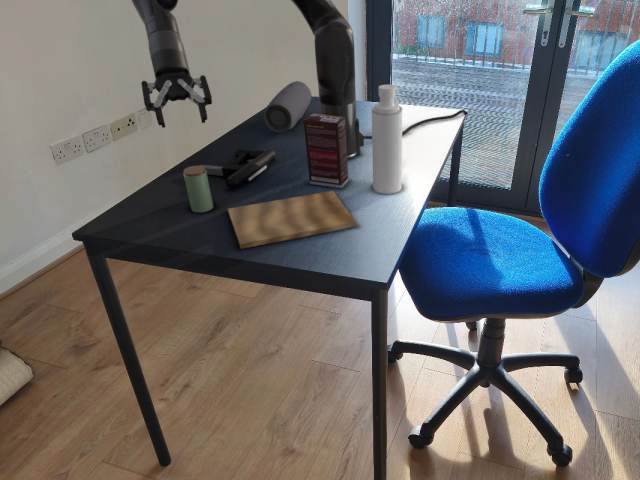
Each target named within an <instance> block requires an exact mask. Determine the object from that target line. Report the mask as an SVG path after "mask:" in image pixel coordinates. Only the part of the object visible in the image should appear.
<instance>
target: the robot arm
mask: <svg viewBox="0 0 640 480" xmlns="http://www.w3.org/2000/svg"><path fill="white" fill-rule="evenodd" d="M290 1H291V2H292V3H293V4H294V6H295V7H296V8H297V9H298V10H299V13H300V14H301V15H302V16H303V18H304V20H305V22H306V24H307V26H308V27H309V29H310V31H311V32H312V34H313V36H314V42H313V43H314V55H315V68H316V79H317V87H318V100H319V102H318V103H319V114H323V115H333V116H342V117H345V126H346V145H347V160H351V159H353V158H355V157H357V156H361V147H364V146H365V140H372V135H364V134H363V133H362V132H360V120H359V118H358V117H357V97H356V96H357V94H356V59H355V58H356V56H355V37H354V32H353V28H352V26H351V24H350V22H349V21H348V20H347V19H346V18H345V17H344V15H343V14H342V13H341V11H340V10H339V9H338V8H337V7H336V5H335V4H334V3H333V1H332V0H290ZM131 2H132V4H133V7H134V8H135V10H136V12H137V15H138V16H139V17H140V20H141V22H142V23H143V25H144V28H145V32H146V37H147V41H148V42H147V43H148V51H149V56H150V60H151V65H152V69H153V73H154V79H155V80H154V82H147V80H142V81H141V83H140V84H141V90H142V97H143V104H144V107H145V110H146V111H147V112H154V113H155V117H156V121H157V124H158V126H161V128H162V129H163V128H166V123H165V118H164V114H163V109H164V107H165V106H166V105H167V103H168V102H169V101H170V102H176V101H186V100H189V101H190V102H191V103H193V104H195V105H196V106H197V108H198V112H199V117H200V121H201V124H205V123H206V121H207V120H208V113H207V109H206V107H207V106H208V105H212V104H213V100H212V99H213V97H212V93H211V90H210V86H209V84H208V79H207V77H206V75H204V74H202V75H200V76H199V77H198V78H197V77H196V78H193V77H192V76H191V71H190V68H189V63H188V59H187V54H186V50H185V47H184V44H183V40H182V38H181V34H180V29H179V26H178V21H177V19H176V16H175V15H174V14H173V13H172V12H173V11H174V10H175V8H176V7H177V6H178V3H179V0H131ZM195 86H197V87H198V88H199V89H200V90H202V92H203V96H204V97H202V96H200V94H198V93H197V91H196V90H195V89H194V87H195ZM154 90H156V91H157V92H158V94H157V98H156V100H155V101H154V102H152V100H151V95H152V94H153V92H154ZM461 114H464V115H469V112H468V111H467V110H465V109H460V110H458V111H457V112H455V113H453V114H450V115H443V116H436V117H431V118H426V119H423V120H420V121H418V122H416V123H413V124H411V125H409V126H407V128H406V129H405V130H402V137H403V136H405V135H406V134H407V133H409V132H410V131H411V130H412V129H414V128H416V127H419V126H421V125H423V124H426V123H430V122H435V121H441V120H449V119H453V118H456V117H457V116H459V115H461Z"/></svg>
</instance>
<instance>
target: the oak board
mask: <svg viewBox="0 0 640 480" xmlns="http://www.w3.org/2000/svg"><path fill="white" fill-rule="evenodd" d="M227 213H228V216H229V220H230V222H231V225H232V227H233V231H234V235H235V236H236V239H237V242H238V246H239V248H240V249H241V250H243V249H248V248H254V247H258V246H263V245H268V244H273V243H278V242H284V241H290V240H294V239H299V238H305V237H310V236H313V235H319V234H325V233H332V232H336V231H341V230H347V229H351V228H356V226H357V225H356V223H357V222H356V220H355V219H354V218H353V216H352V215H351V213H350V212H349V211H348V209H347V207H345V205H344V204H343V202H342V201H341V199H340V198H339V197H338V196H337V194H336V193H335V191H334V190H329V191H322V192H317V193H312V194H311V193H310V194H306V195H300V196H299V195H298V196H293V197H288V198H282V199H276V200H270V201H265V202H259V203H254V204H252V203H251V204H247V205H242V206H241V205H240V206H236V207H230V208H227Z"/></svg>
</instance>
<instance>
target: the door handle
mask: <svg viewBox="0 0 640 480" xmlns="http://www.w3.org/2000/svg"><path fill="white" fill-rule="evenodd" d="M234 157H235V158H234V159H233V160H231V161H229V162H228V163H227V164H225V165H224V166H219V165H208V164H199V165H198V166H202V167H204V168H205V170H206V172H207V175H212V176H220V177H223V179H224V180H225V185H226V187H227V188H229V189H231V190H234V189H236V188H238V187H240V186H241V185H243V184H244V183H246V182H251V181H252V180H253V179H255V178H256V177H257V176H259V175H260V174H261V173H262V172H263V171H265V170H266V169H267V167H268V165H269V164H270V163H272V162H273V161H276V157H277V155H276V152H275V150H273V149H270V148H269V149H267V150H263V149H262V150H261V149H250V148H237V149H236V150H235V152H234Z"/></svg>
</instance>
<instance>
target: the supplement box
mask: <svg viewBox="0 0 640 480" xmlns="http://www.w3.org/2000/svg"><path fill="white" fill-rule="evenodd" d="M303 131H304V140H305V150H306V160H307V169H308V170H307V171H308V180H309V184H310V185H316V186H321V187H329V188H337V189H342V188H344V186H346V184H347V183H348V182H349V168H348V167H349V166H348V165H349V164H348V159H347V145H346V126H345V117H342V116H333V115H323V114H320V113H314V112H311V113H310V114H308V115H307V116H306V117H304V118H303Z"/></svg>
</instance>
